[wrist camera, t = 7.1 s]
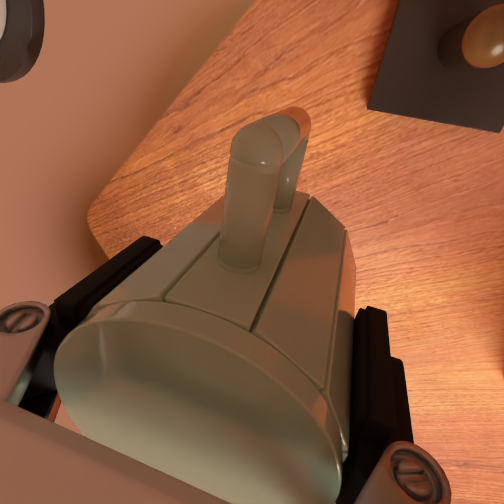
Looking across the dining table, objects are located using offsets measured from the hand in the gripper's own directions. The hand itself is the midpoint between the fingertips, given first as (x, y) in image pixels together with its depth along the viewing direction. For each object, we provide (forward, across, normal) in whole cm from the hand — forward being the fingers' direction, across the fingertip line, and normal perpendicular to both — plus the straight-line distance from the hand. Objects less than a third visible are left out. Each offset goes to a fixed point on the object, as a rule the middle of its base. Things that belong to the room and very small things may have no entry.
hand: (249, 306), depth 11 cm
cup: (+3, 0, -1) cm, 3 cm away
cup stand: (+20, -7, -10) cm, 23 cm away
